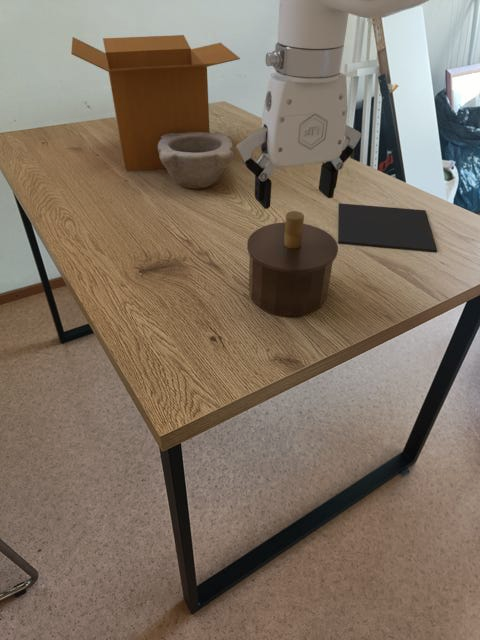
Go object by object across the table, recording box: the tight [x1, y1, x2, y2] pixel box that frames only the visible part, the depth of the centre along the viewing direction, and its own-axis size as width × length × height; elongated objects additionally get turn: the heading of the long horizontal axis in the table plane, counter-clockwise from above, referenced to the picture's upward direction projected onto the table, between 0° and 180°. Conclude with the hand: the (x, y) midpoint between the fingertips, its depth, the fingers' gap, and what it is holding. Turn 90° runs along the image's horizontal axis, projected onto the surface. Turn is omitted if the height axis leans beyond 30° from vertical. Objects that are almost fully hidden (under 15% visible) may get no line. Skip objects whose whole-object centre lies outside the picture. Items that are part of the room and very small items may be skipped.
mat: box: [337, 203, 438, 253], centre depth 90 cm, size 18×16×1 cm
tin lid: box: [246, 210, 339, 273], centre depth 67 cm, size 14×14×6 cm
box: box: [70, 34, 241, 172], centre depth 112 cm, size 36×40×26 cm
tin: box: [248, 255, 334, 318], centre depth 71 cm, size 13×13×8 cm
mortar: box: [158, 131, 235, 190], centre depth 104 cm, size 17×17×9 cm
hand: (294, 199), depth 63 cm, fingers open, 9 cm apart
